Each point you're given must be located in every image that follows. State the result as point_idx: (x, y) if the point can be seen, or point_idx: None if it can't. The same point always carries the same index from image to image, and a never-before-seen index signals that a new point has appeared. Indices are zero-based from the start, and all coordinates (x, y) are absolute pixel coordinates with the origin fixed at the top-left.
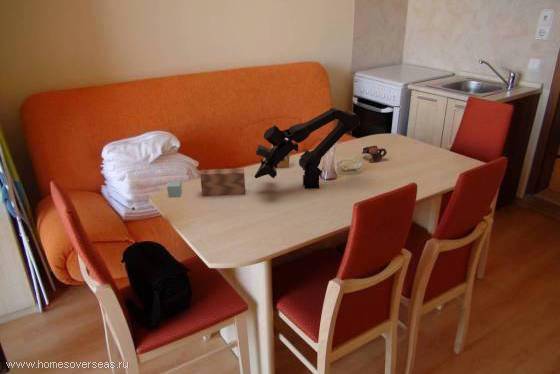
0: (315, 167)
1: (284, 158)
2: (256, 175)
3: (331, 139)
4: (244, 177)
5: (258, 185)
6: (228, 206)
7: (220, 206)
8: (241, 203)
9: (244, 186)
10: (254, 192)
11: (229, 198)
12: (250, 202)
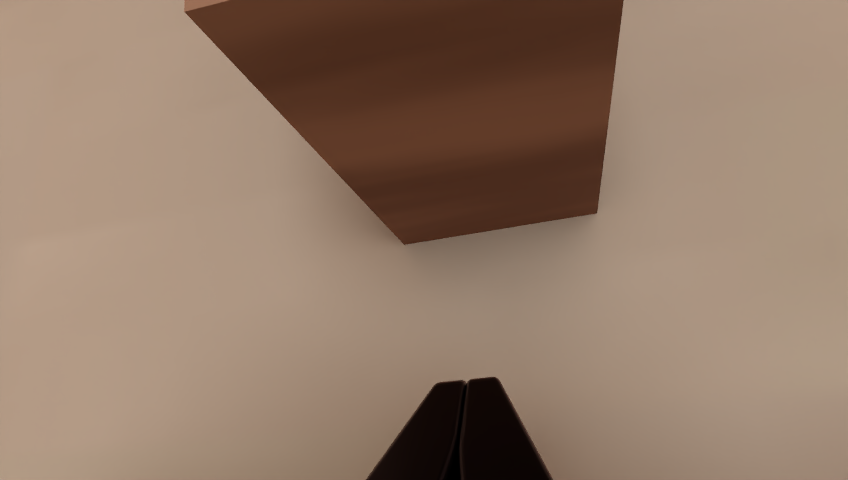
0: None
1: None
2: (398, 458)
3: None
4: (522, 104)
5: (813, 447)
6: (79, 102)
7: (94, 18)
8: (128, 240)
9: (359, 191)
10: None
11: None
12: (138, 361)
